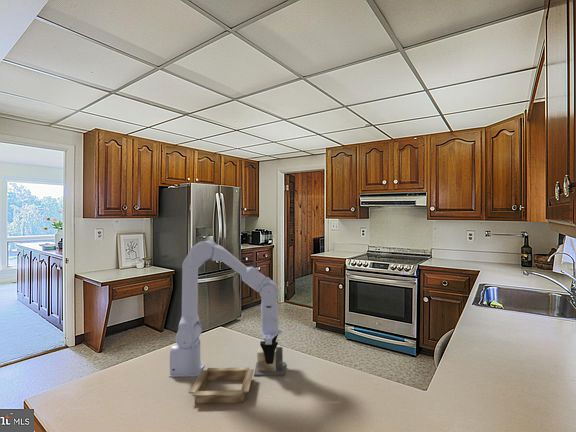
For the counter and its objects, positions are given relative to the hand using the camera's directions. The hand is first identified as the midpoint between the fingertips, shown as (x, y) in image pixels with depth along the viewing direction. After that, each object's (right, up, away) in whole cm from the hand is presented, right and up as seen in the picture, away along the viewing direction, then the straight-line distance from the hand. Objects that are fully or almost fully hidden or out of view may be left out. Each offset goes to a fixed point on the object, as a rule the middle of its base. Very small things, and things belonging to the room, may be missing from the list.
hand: (270, 358), depth 107 cm
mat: (0, -4, 0) cm, 4 cm away
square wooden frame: (-13, -4, -13) cm, 19 cm away
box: (0, -3, 0) cm, 3 cm away
